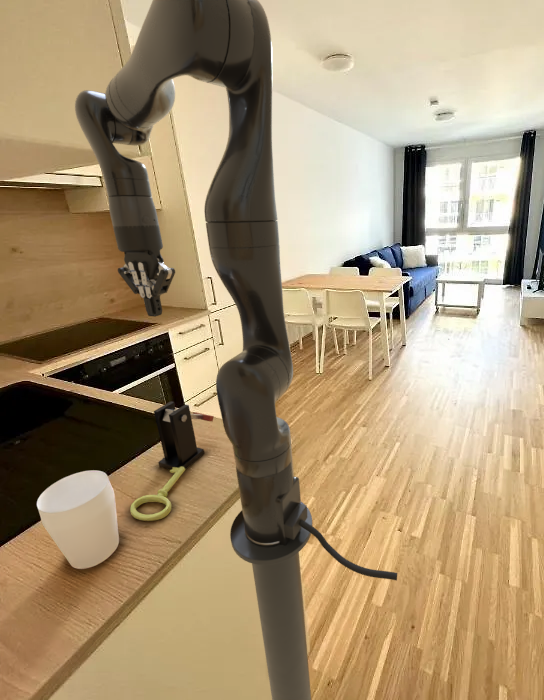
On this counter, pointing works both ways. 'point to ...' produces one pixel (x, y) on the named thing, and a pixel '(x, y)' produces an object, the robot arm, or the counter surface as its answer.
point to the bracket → (177, 437)
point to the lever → (193, 416)
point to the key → (157, 499)
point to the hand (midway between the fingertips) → (155, 315)
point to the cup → (81, 517)
